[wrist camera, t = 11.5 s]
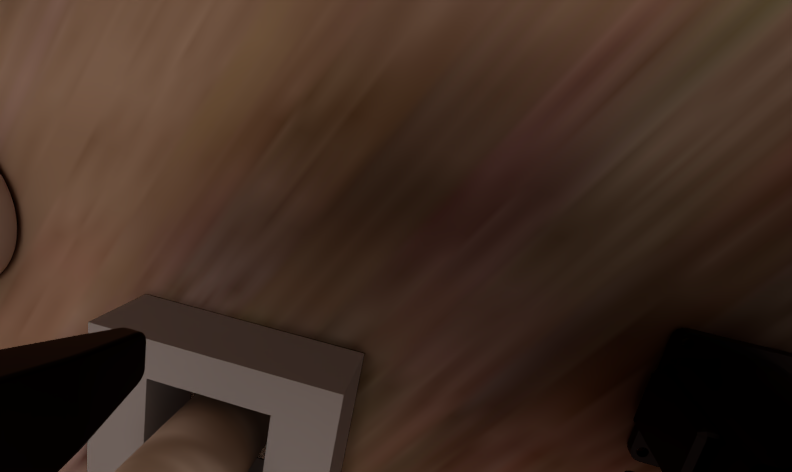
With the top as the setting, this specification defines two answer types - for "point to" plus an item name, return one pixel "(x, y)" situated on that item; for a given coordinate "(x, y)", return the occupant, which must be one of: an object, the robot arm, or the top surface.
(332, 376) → the socket
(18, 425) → the robot arm
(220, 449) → the peg
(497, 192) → the top surface
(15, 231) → the fruit juice
